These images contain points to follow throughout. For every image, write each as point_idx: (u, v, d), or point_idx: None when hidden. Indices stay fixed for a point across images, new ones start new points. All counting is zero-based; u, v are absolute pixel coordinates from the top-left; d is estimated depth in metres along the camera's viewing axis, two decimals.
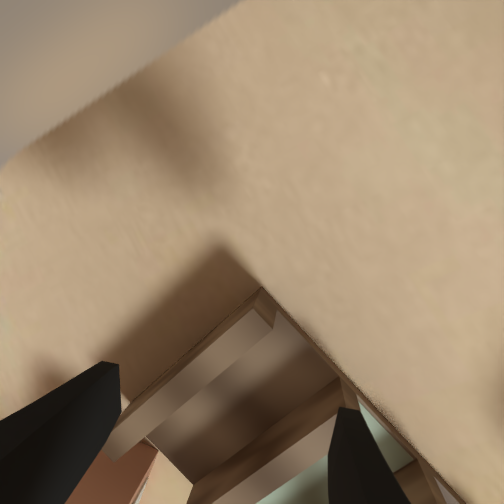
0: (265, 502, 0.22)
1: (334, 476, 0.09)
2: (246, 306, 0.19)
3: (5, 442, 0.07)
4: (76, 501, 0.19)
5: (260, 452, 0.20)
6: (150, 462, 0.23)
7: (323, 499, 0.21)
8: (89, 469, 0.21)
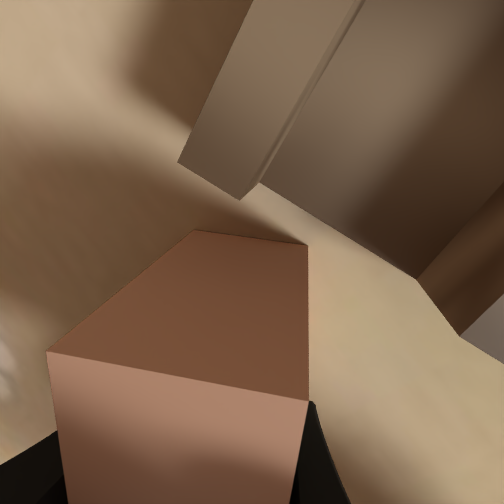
0: None
1: None
2: None
3: None
4: (168, 313, 0.06)
5: None
6: (305, 257, 0.10)
7: None
8: (177, 270, 0.08)
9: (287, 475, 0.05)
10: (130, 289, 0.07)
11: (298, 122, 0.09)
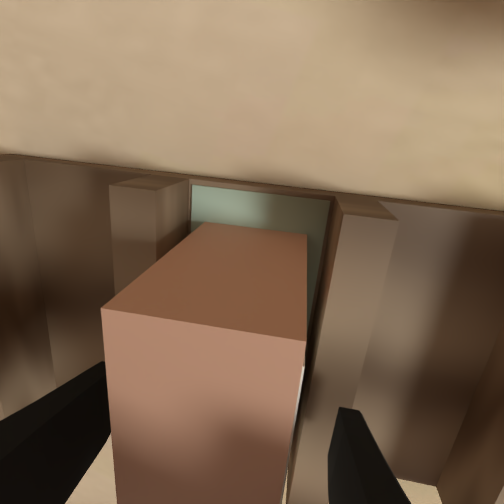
0: None
1: (334, 476, 0.09)
2: None
3: (5, 442, 0.07)
4: (191, 284, 0.08)
5: None
6: (304, 243, 0.11)
7: None
8: (195, 253, 0.10)
9: (290, 405, 0.06)
10: (158, 267, 0.08)
11: (56, 378, 0.17)
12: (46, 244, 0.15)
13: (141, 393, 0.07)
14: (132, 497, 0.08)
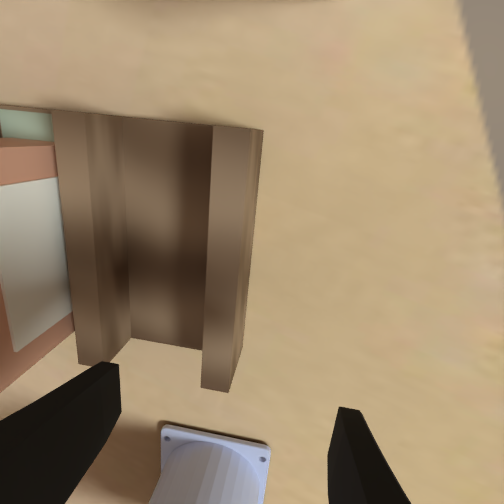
0: None
1: (334, 476, 0.09)
2: None
3: (5, 442, 0.07)
4: None
5: None
6: None
7: None
8: None
9: None
10: None
11: None
12: None
13: None
14: None
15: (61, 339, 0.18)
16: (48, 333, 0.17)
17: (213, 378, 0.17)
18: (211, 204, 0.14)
